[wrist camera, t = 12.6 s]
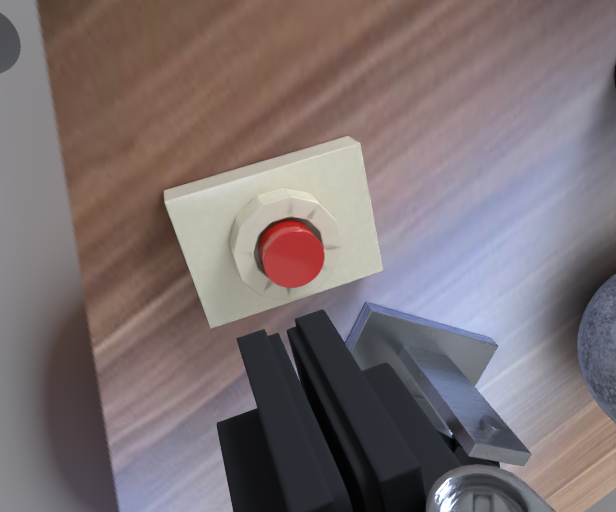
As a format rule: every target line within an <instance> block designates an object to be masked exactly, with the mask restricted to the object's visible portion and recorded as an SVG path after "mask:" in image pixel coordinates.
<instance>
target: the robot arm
mask: <svg viewBox="0 0 616 512" xmlns="http://www.w3.org/2000/svg"><path fill="white" fill-rule="evenodd" d="M295 322H296V327H293V328H290V329H288V330H287V334H288V338H289V342H290V345H291V349H292V353H293V357H294V360H295V364H296V368H297V371H298V375H299V379H300V381H299V379H298V376H297V374H296V372H295V370H294V367H293V365H292V363H291V360H290V358H289V356H288V354H287V351H286V349H285V347H284V344H283V342H282V340H281V338H280V335H279V333H276V334H273V335H270V336H267V333H266V331H265V329H263V330H260V331H257V332H254V333H251V334H248V335H245V336H242V337H239V338H236V339H237V342H238V345H239V349H240V352H241V355H242V358H243V362H244V365H245V368H246V372H247V375H248V378H249V381H250V385H251V388H252V391H253V395H254V398H255V401H256V404H257V409H254V410H251V411H248V412H246V413H243V414H240V415H237V416H234V417H232V418H229V419H226V420H223V421H221V422H218V423H217V430H218V435H219V440H220V445H221V451H222V456H223V461H224V466H225V471H226V476H227V481H228V486H229V491H230V497H231V502H232V507H233V512H556V511H555V510H554V509H553V508H552V507H551V506H550V505H549V504H547V503H546V502H545V501H544V500H543V499H542V498H541V497H540V496H539V495H538V494H537V493H536V492H535V491H534V490H533V489H531V488H530V487H529V486H528V485H527V484H526V483H525V482H524V481H522V480H521V479H519V478H518V477H517V476H515V475H514V474H512V473H511V472H508V471H505V470H503V469H500V468H498V467H495V466H488V465H481V464H475V465H466V466H462V465H461V464H460V462H459V461H458V459H457V458H456V457H455V455H454V454H453V452H452V451H451V450H450V448H449V447H448V445H447V444H446V443H445V441H444V440H443V438H442V437H441V435H440V434H439V433H438V431H437V430H436V428H435V427H434V426H433V424H432V423H431V421H430V420H429V419H428V417H427V416H426V414H425V413H424V411H423V410H422V409H421V407H420V406H419V404H418V403H417V402H416V400H415V399H414V397H413V396H412V395H411V393H410V392H409V390H408V389H407V388H406V386H405V385H404V383H403V382H402V380H401V379H400V378H399V376H398V375H397V373H396V372H395V371H394V369H393V368H392V367H391V366H390V364H388V363H386V362H385V363H382V364H379V365H376V366H374V367H371V368H368V369H365V370H363V371H362V370H361V369H360V367H359V365H358V364H357V362H356V361H355V359H354V357H353V356H352V354H351V353H350V351H349V349H348V348H347V346H346V345H345V343H344V341H343V340H342V338H341V336H340V335H339V333H338V332H337V330H336V328H335V327H334V325H333V324H332V322H331V320H330V319H329V317H328V315H327V314H326V312H325V311H324V310H319V311H316V312H313V313H311V314H308V315H305V316H302V317H299V318H296V319H295ZM300 382H301V383H300Z"/></svg>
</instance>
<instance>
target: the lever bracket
mask: <svg viewBox="0 0 616 512" xmlns="http://www.w3.org/2000/svg"><path fill="white" fill-rule="evenodd" d="M345 345H346V346H347V348H348V349H349V351H350V353H351V354H352V356H353V357H354V359H355V361H356V362H357V364H358V365H359V367H360V369H361V370H362V371H363V370H365V369H368V368H371V367H374V366H376V365H379V364H382V363H385V362H386V363H388V364H390V366H391V367H392V368H393V369H394V371H395V372H396V373H397V375H398V376H399V378H400V379H401V380H402V382H403V383H404V385H405V386H406V388H407V389H408V390H409V392H410V393H411V395H412V396H413V397H414V399H415V400H416V402H417V403H418V404H419V406H420V407H421V409H422V410H423V411H424V413H425V414H426V416H427V417H428V419H429V420H430V421H431V423H432V424H433V426H434V427H435V428H436V430H438V431H440V432H442V433H444V434H446V435H448V436H449V437H451V436H452V435H451V434H450V432H449V429H450V431H451V432H452V433H453V435H454V436H455V438H456V439H457V440H458V442H459V443H460V445H461V446H462V448H463V449H464V450H465V452H466V453H467V455H468V456H470V457H475V458H481V459H486V460H492V461H498V462H503V463H509V464H514V465H520V466H524V465H525V464H526V462H527V461H528V459H529V458H530V456H531V453H530V451H529V450H528V449H527V448H526V447H525V446H524V444H523V443H522V442H521V441H520V440H519V439H518V437H517V436H516V435H515V434H514V433H513V431H512V430H511V429H510V428H509V427H508V426H507V424H506V423H505V422H504V421H503V420H502V419H501V417H500V416H499V415H498V414H497V413H496V412H495V410H494V409H493V408H492V407H491V406H490V404H489V403H488V402H487V401H486V400H485V399H484V397H483V396H482V395H481V394H480V393H479V392H478V390H477V389H476V388H475V385H476V383H477V381H478V380H479V378H480V376H481V375H482V373H483V371H484V370H485V368H486V366H487V365H488V363H489V361H490V359H491V358H492V356H493V354H494V353H495V351H496V349H497V348H498V345H497V344H496V343H495V342H494V341H493V340H492V339H491V338H488V337H485V336H481V335H478V334H474V333H471V332H467V331H464V330H460V329H457V328H453V327H450V326H446V325H443V324H439V323H436V322H432V321H429V320H425V319H422V318H419V317H415V316H412V315H408V314H405V313H401V312H398V311H394V310H391V309H387V308H384V307H380V306H377V305H373V304H370V303H365V305H364V307H363V309H362V311H361V313H360V315H359V317H358V319H357V321H356V323H355V325H354V327H353V329H352V331H351V334H350V336H349V338H348V340H347V342H346V344H345Z"/></svg>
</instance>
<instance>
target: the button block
mask: <svg viewBox="0 0 616 512" xmlns="http://www.w3.org/2000/svg"><path fill="white" fill-rule="evenodd" d="M163 193H164V203H165V206H166V209H167V211H168V214H169V217H170V219H171V222H172V225H173V228H174V230H175V233H176V236H177V238H178V241H179V244H180V247H181V249H182V252H183V255H184V258H185V260H186V263H187V266H188V268H189V271H190V274H191V277H192V279H193V282H194V285H195V287H196V290H197V293H198V296H199V298H200V301H201V304H202V306H203V309H204V312H205V315H206V317H207V320H208V323H209V325H210V328H211V329H212V328H215V327H218V326H221V325H224V324H227V323H230V322H233V321H236V320H239V319H242V318H245V317H248V316H251V315H254V314H257V313H260V312H263V311H266V310H269V309H272V308H275V307H278V306H281V305H284V304H287V303H290V302H293V301H296V300H299V299H302V298H305V297H308V296H311V295H314V294H317V293H320V292H323V291H326V290H329V289H332V288H335V287H337V286H340V285H343V284H346V283H349V282H352V281H355V280H358V279H361V278H364V277H367V276H370V275H373V274H376V273H379V272H382V271H383V266H382V260H381V255H380V249H379V244H378V239H377V233H376V228H375V222H374V217H373V211H372V206H371V200H370V195H369V189H368V184H367V178H366V173H365V167H364V162H363V156H362V151H361V145H360V143H359V142H357V141H356V140H354V139H353V138H351V137H350V136H346V137H342V138H339V139H336V140H332V141H329V142H326V143H322V144H319V145H315V146H312V147H309V148H305V149H302V150H299V151H295V152H292V153H289V154H285V155H282V156H278V157H275V158H272V159H268V160H265V161H262V162H258V163H255V164H252V165H248V166H245V167H241V168H238V169H235V170H231V171H228V172H225V173H221V174H218V175H214V176H211V177H208V178H204V179H201V180H198V181H194V182H191V183H188V184H184V185H181V186H177V187H174V188H171V189H167V190H164V191H163ZM287 220H294V221H299V222H302V223H304V224H306V225H307V226H308V227H310V229H311V230H312V231H313V232H314V234H315V235H316V236H317V238H318V239H319V241H320V242H321V244H322V246H323V248H324V253H325V259H324V264H323V267H322V269H321V271H320V273H319V274H318V275H317V276H316V278H315V279H313V280H312V281H311V282H309V283H308V284H306V285H304V286H301V287H296V288H285V287H281V286H279V285H277V284H275V283H274V282H272V281H271V280H270V279H269V278H268V276H267V274H266V273H265V270H264V268H263V266H262V263H261V261H260V259H259V254H258V247H259V243H260V240H261V238H262V236H263V234H264V233H265V232H266V231H267V230H268V229H269V228H270V227H271V226H273V225H274V224H276V223H279V222H282V221H287Z"/></svg>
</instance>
